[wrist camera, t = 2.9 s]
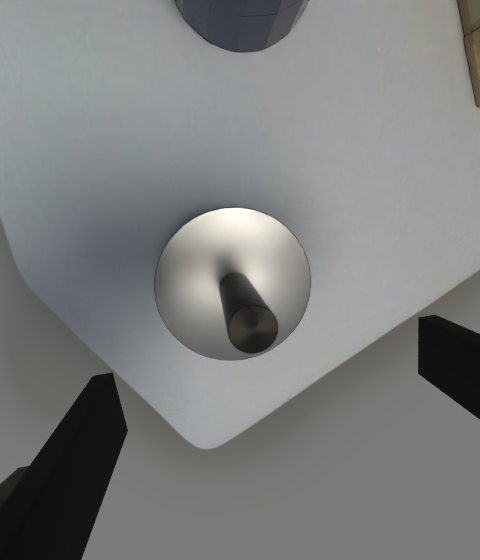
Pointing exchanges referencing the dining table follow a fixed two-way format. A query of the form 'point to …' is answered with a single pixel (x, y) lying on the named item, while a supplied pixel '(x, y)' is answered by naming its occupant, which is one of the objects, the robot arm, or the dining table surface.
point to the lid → (232, 283)
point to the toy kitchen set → (472, 40)
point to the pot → (242, 21)
